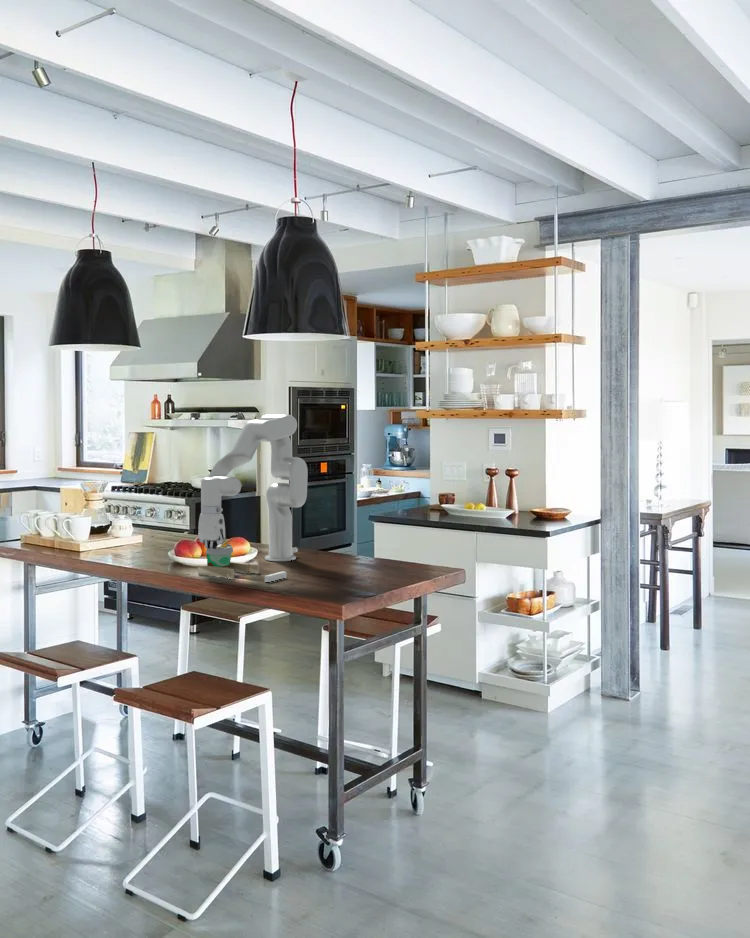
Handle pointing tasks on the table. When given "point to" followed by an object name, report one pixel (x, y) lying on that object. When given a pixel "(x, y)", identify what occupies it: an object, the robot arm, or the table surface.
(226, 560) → the food container
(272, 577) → the white notched bar
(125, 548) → the table surface
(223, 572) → the chute
